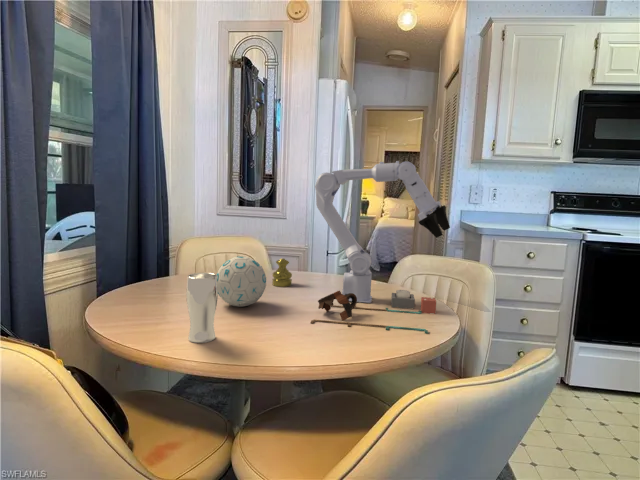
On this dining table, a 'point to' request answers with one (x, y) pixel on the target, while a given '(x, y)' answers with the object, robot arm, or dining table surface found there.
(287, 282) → the gold chess piece
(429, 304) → the die
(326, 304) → the brown bent frame piece
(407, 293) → the dome
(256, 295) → the puzzle ball
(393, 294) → the box
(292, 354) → the dining table surface
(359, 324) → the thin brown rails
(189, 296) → the beer glass
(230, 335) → the dining table surface
